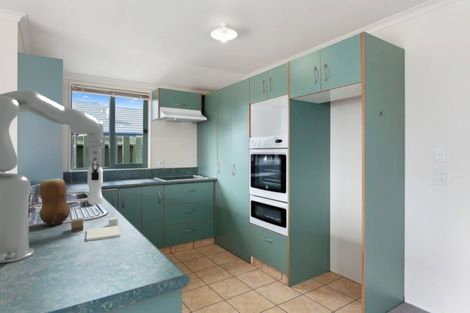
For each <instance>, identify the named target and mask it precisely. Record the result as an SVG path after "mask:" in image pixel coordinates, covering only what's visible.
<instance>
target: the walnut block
mask: <svg viewBox="0 0 470 313" xmlns="http://www.w3.org/2000/svg"><path fill="white" fill-rule="evenodd" d="M70 225H71V228H70V230H71V233H75V232H83V231H84V218H77V219H72V220H71V224H70Z"/></svg>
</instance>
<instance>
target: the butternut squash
mask: <svg viewBox="0 0 470 313" xmlns="http://www.w3.org/2000/svg"><path fill="white" fill-rule="evenodd" d="M39 184H40V185H39V190H40V191H39V192H40V193H39V195H40V200H41V207H40V210H39V218H40V220H41V221H42V222H43V223H44V224H47V225H50V226H53V225H54V226H57V225H58V226H59V225H61V224H63V222H65V221H66V219H68V218H69V217H70V212H71V210H70V207H69V204H68V202H67V194H68V190H67V186H66V182H65V180H64V179H62V178H52V179H43V180H41V182H40V183H39Z"/></svg>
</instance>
